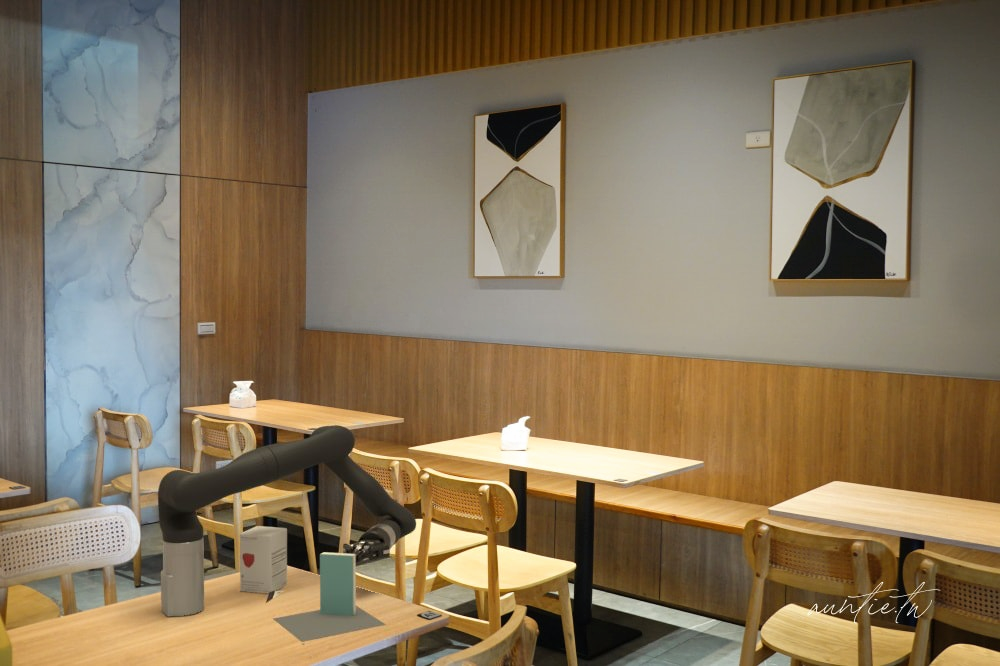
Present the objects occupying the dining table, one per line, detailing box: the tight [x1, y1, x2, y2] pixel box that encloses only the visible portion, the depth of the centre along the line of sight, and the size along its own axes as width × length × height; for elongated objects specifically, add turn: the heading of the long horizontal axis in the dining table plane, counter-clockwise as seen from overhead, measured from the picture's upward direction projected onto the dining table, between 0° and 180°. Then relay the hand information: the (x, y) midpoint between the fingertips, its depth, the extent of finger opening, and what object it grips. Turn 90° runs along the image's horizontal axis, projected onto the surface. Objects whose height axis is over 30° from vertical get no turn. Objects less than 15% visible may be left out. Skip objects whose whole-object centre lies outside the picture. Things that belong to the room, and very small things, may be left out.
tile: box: [319, 551, 357, 616], centre depth 225 cm, size 2×8×14 cm, turn 78°
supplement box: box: [239, 525, 288, 595], centre depth 247 cm, size 9×9×15 cm
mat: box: [272, 605, 387, 643], centre depth 220 cm, size 20×18×1 cm
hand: (354, 559), depth 235 cm, fingers closed
